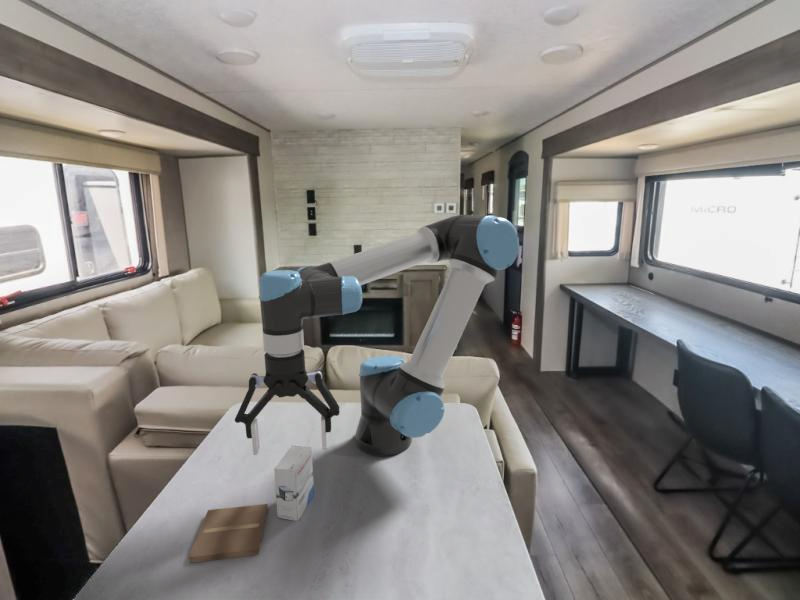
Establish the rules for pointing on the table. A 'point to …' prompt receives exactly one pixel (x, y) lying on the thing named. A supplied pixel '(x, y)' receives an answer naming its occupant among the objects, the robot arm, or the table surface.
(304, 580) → the table surface
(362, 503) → the table surface
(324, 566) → the table surface
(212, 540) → the cardboard box
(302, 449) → the ink box
